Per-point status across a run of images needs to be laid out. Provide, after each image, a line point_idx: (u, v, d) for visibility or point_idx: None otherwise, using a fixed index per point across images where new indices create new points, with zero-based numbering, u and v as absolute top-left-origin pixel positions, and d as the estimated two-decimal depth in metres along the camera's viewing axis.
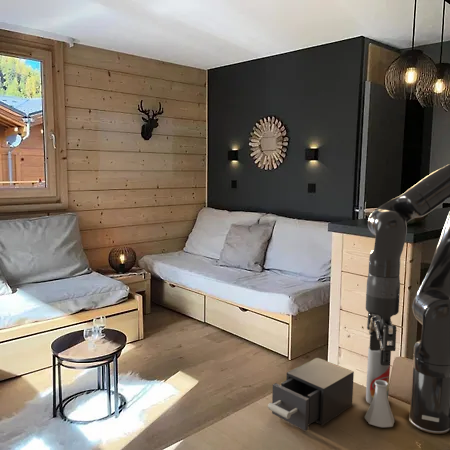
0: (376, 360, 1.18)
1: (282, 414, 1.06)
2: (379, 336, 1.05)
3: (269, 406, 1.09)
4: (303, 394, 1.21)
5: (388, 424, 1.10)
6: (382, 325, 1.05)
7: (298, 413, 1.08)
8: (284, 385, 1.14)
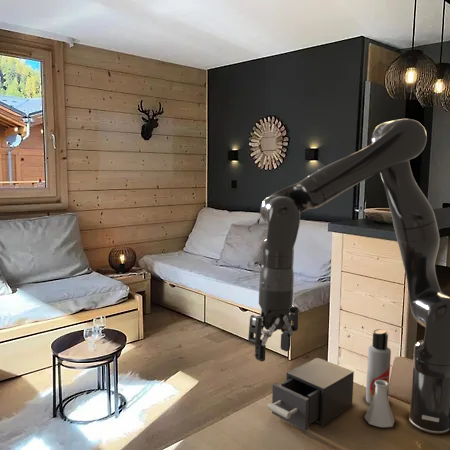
0: (376, 360, 1.18)
1: (282, 414, 1.06)
2: None
3: (269, 406, 1.09)
4: (303, 394, 1.21)
5: (388, 424, 1.10)
6: None
7: (298, 413, 1.08)
8: (284, 385, 1.14)
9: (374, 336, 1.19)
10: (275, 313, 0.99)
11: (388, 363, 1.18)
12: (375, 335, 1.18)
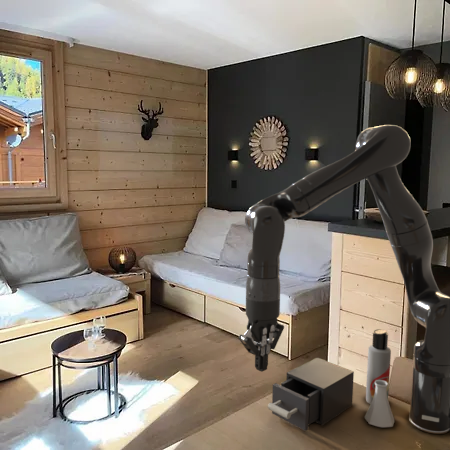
0: (376, 360, 1.18)
1: (282, 414, 1.06)
2: None
3: (269, 406, 1.09)
4: (303, 394, 1.21)
5: (388, 424, 1.10)
6: None
7: (298, 413, 1.08)
8: (284, 385, 1.14)
9: (374, 336, 1.19)
10: (263, 323, 0.98)
11: (388, 363, 1.18)
12: (375, 335, 1.18)
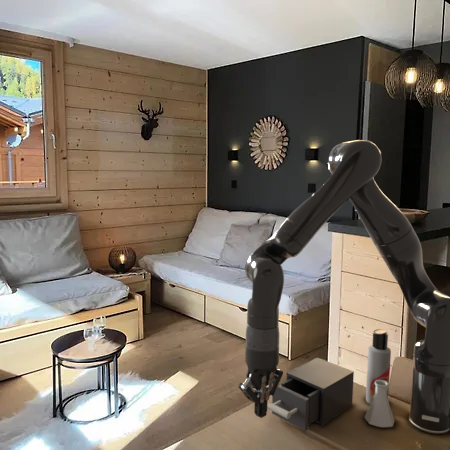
0: (376, 360, 1.18)
1: (282, 414, 1.06)
2: (251, 387, 1.02)
3: (269, 406, 1.09)
4: (303, 394, 1.21)
5: (388, 424, 1.10)
6: None
7: (298, 413, 1.08)
8: (284, 385, 1.14)
9: (374, 336, 1.19)
10: (262, 371, 1.00)
11: (388, 363, 1.18)
12: (375, 335, 1.18)
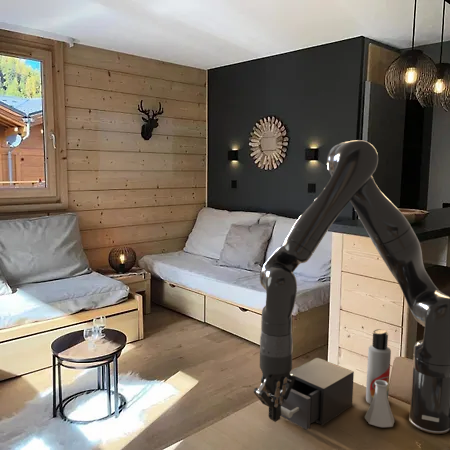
0: (376, 360, 1.18)
1: (284, 413, 1.06)
2: (266, 392, 1.06)
3: None
4: (304, 393, 1.21)
5: (388, 424, 1.10)
6: None
7: (299, 412, 1.08)
8: None
9: (374, 336, 1.19)
10: (276, 376, 1.04)
11: (388, 363, 1.18)
12: (375, 335, 1.18)
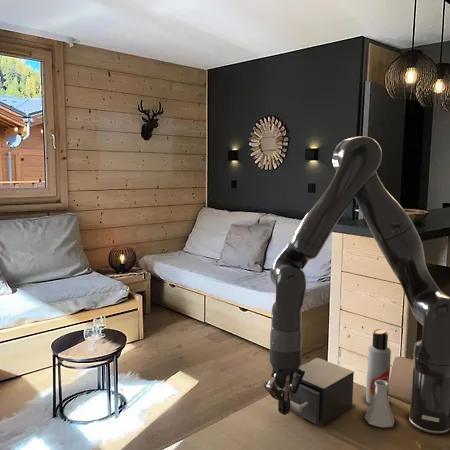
0: (376, 360, 1.18)
1: (293, 407, 1.09)
2: None
3: None
4: (313, 389, 1.23)
5: (388, 424, 1.10)
6: (271, 375, 1.06)
7: (308, 407, 1.11)
8: None
9: (374, 336, 1.19)
10: (286, 371, 1.06)
11: (388, 363, 1.18)
12: (375, 335, 1.18)
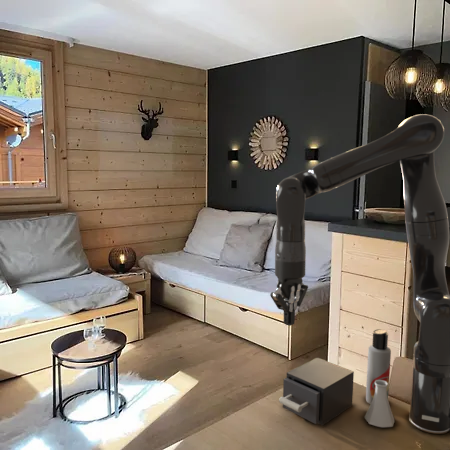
0: (376, 360, 1.18)
1: (293, 407, 1.09)
2: None
3: (280, 400, 1.12)
4: (313, 389, 1.23)
5: (388, 424, 1.10)
6: (277, 286, 1.11)
7: (308, 407, 1.11)
8: (294, 380, 1.17)
9: (374, 336, 1.19)
10: (290, 282, 1.12)
11: (388, 363, 1.18)
12: (375, 335, 1.18)
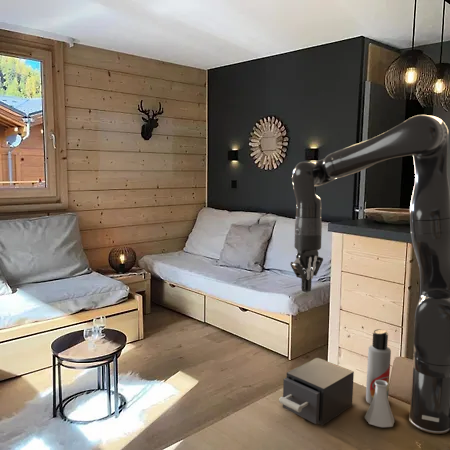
0: (376, 360, 1.18)
1: (293, 407, 1.09)
2: None
3: (280, 400, 1.12)
4: (313, 389, 1.23)
5: (388, 424, 1.10)
6: (296, 256, 1.27)
7: (308, 407, 1.11)
8: (294, 380, 1.17)
9: (374, 336, 1.19)
10: (308, 253, 1.28)
11: (388, 363, 1.18)
12: (375, 335, 1.18)
